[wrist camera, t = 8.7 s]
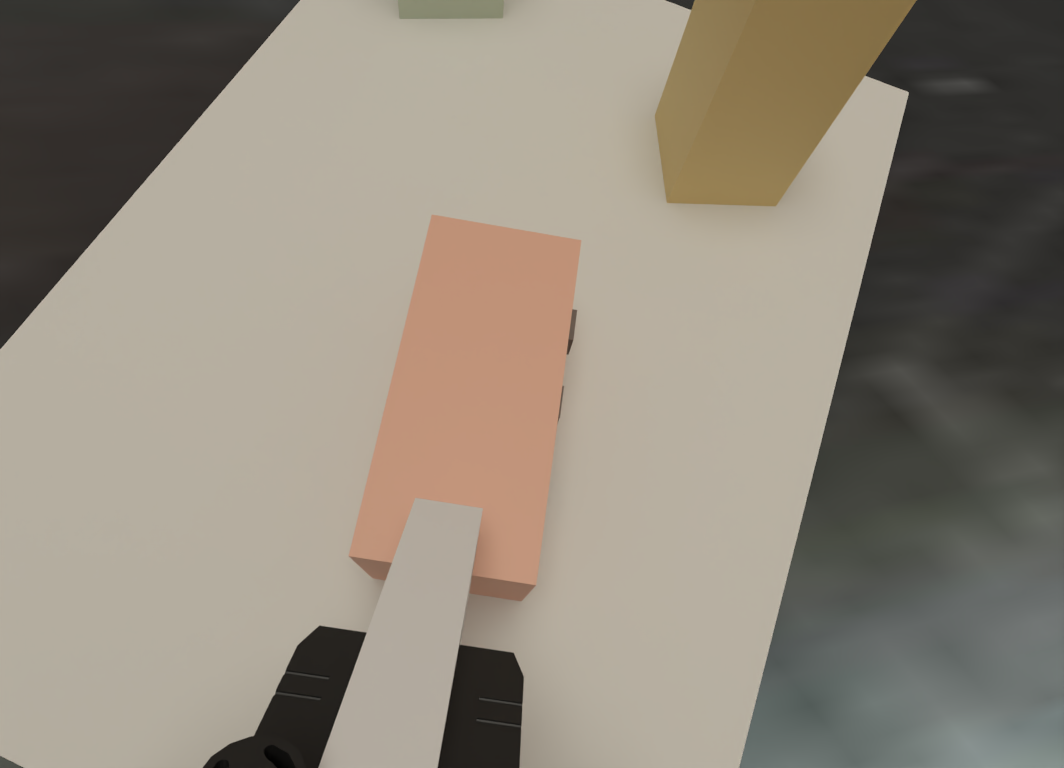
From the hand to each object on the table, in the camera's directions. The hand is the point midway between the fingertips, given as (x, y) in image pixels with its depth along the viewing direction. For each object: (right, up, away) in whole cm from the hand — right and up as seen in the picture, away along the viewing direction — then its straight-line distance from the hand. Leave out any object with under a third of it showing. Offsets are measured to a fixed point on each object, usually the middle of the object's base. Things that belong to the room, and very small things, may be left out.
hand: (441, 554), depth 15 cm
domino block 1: (0, -1, +3) cm, 3 cm away
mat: (0, +7, +10) cm, 12 cm away
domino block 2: (+10, +13, +13) cm, 20 cm away
